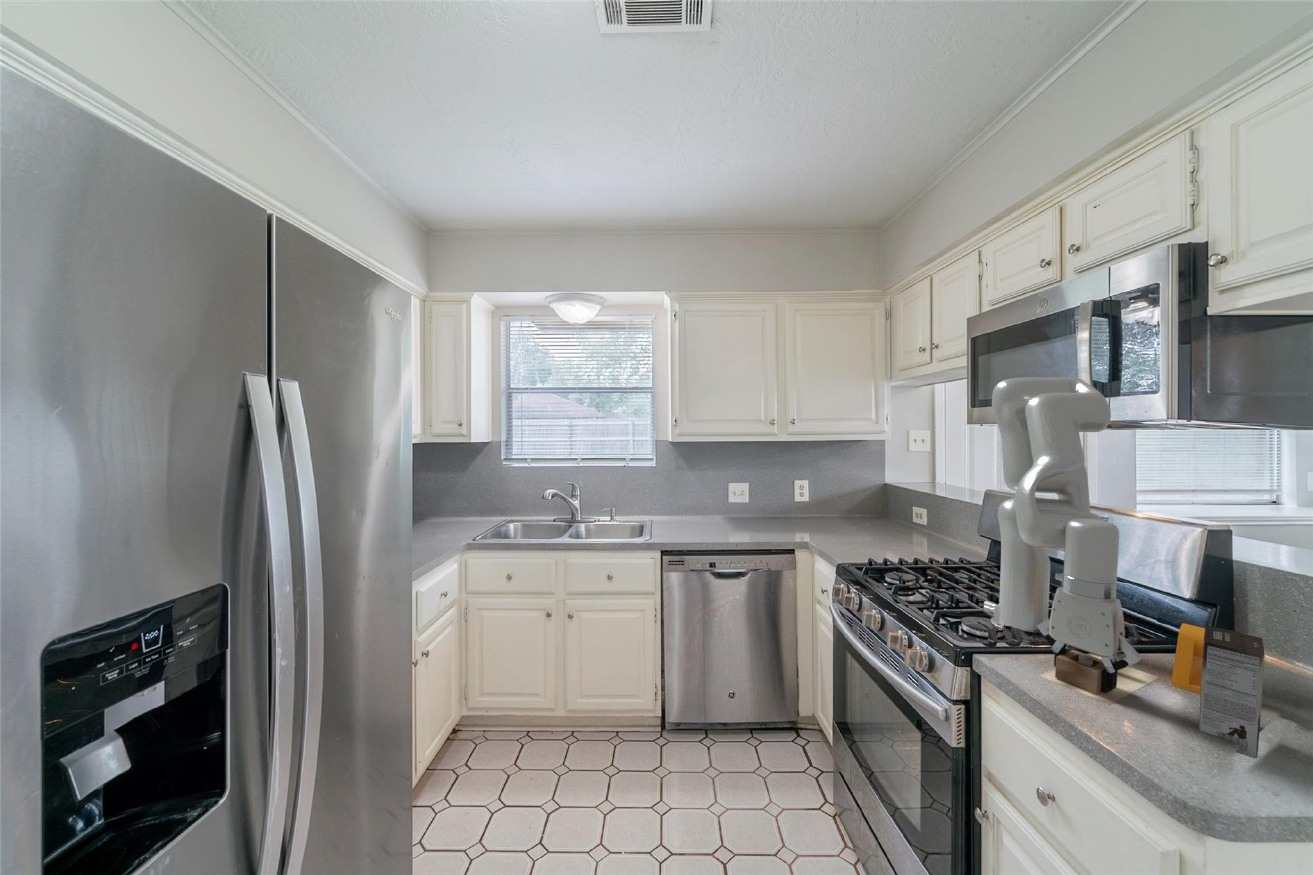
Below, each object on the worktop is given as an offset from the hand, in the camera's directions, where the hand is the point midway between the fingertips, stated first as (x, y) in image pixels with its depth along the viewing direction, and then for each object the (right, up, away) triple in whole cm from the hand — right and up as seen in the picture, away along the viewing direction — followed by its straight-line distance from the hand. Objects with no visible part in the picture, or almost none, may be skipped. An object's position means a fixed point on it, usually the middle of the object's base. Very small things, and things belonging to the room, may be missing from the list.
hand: (1083, 680), depth 96 cm
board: (+5, -2, +2) cm, 6 cm away
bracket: (+22, -2, -1) cm, 22 cm away
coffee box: (+12, -3, -14) cm, 18 cm away
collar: (0, 0, 0) cm, 0 cm away
